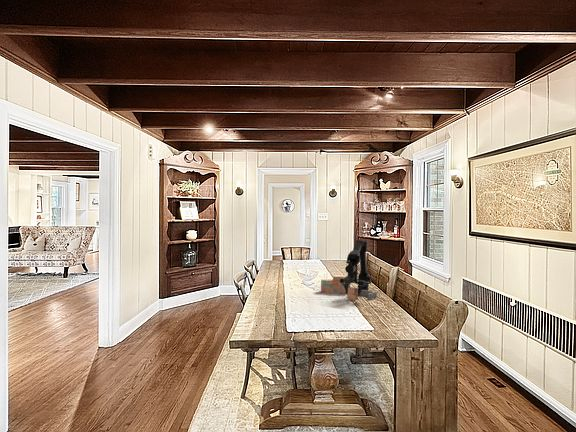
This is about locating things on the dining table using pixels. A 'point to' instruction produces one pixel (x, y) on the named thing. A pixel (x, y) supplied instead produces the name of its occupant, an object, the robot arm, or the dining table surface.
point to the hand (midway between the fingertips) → (352, 294)
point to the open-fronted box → (369, 294)
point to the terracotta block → (353, 293)
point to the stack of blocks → (333, 285)
